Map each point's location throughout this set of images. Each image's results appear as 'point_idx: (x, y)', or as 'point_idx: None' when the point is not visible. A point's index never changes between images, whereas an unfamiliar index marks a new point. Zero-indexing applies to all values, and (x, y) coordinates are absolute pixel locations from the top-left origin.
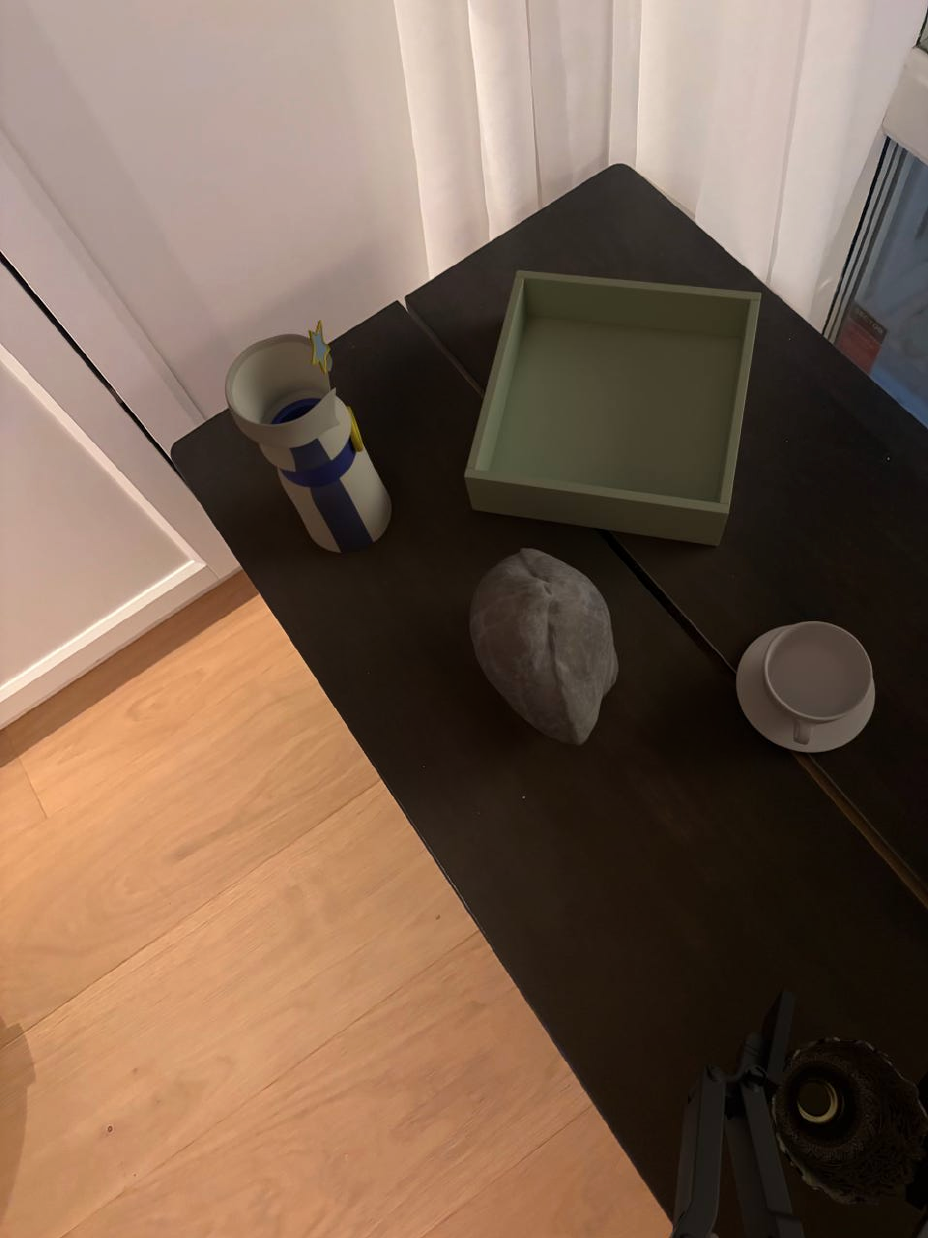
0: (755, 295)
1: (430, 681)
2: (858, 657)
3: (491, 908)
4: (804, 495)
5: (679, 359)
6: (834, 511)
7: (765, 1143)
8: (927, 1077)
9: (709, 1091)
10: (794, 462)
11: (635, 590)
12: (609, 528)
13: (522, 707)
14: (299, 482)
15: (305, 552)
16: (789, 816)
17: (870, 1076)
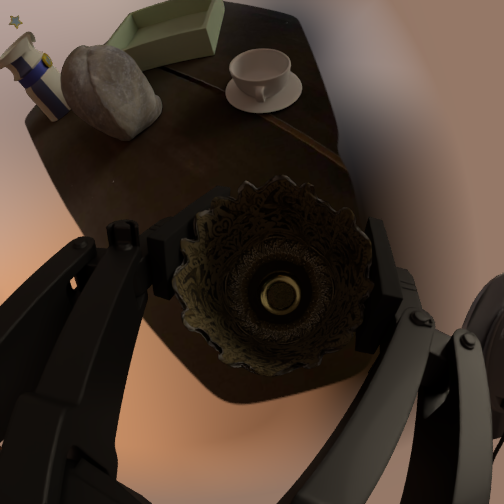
0: None
1: (79, 148)
2: (282, 59)
3: (96, 245)
4: (253, 35)
5: (195, 17)
6: (267, 36)
7: (94, 300)
8: (367, 227)
9: (61, 257)
10: (247, 28)
11: (174, 79)
12: (162, 64)
13: (84, 114)
14: (26, 85)
15: (47, 126)
16: (265, 145)
17: (317, 249)
